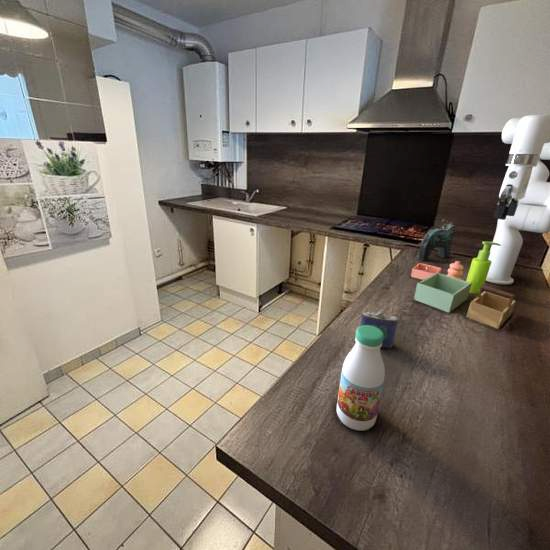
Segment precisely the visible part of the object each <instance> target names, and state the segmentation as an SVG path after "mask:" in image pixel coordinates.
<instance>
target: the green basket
mask: <svg viewBox="0 0 550 550" xmlns="http://www.w3.org/2000/svg"><path fill="white" fill-rule="evenodd" d="M471 285H472V283H471V282H467V281H466V280H463V279H462V280H460V279H457V278H454V277H450V276H447V274H444V273H436V274H434V275H432V276H430V277H428V278H426V279H424V280H422V279H421V281H419V282H417V283H416V287H415V292H414V296H413V300H414V301H416V302H420V303H422V304H425V305H428V306H430V307H432V308H435V309H438V310H440V311H443V312H446V313H448V314H449V313H451V312H452V311H453V310H455V309H456V308H457V307H459V306H460V305H462V304H463V303H464V302H465V301H466V300H468V297H469V294H470V293H469V291H470V288H471Z"/></svg>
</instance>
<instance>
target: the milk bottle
mask: <svg viewBox="0 0 550 550" xmlns="http://www.w3.org/2000/svg"><path fill="white" fill-rule="evenodd" d="M383 337H384V335H383V332H382V331H381V330H380V329H378V328H377V327H374V326H370V325H363V326H358V327H357V329H356V330H355V337H354V341H355V343H354V346H353V347H352V349H351V350H350V351H349V352H348V354H347V355H346V357H345V358H344V360H343V363H342V369H341V374H340V381H339V387H338V395H337V403H336V414H337V417H338V419H339V420H340V422H341V423H342V424H343V425H345V426H346V427H347V428H349V429H352V430H354V431H359V432H360V431H361V432H362V431H363V432H364V431H367V430H369V429H370V428H371V429H372V427H373V426H374V425H375V424H376V421H377V418H378V412H379V408H380V404H381V398H382V394H383V387H384V384H385V376H386V369H385V368H386V367H385V363H384V360H383V357H382V354H381V348H380V347H381V346H382V342H383Z"/></svg>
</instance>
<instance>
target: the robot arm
mask: <svg viewBox="0 0 550 550" xmlns="http://www.w3.org/2000/svg"><path fill="white" fill-rule="evenodd" d="M501 141H502V143H504V144H506V145H511V146H510V149H509V153H508V157H507V159H506V162H505V165H504V166H505V167H508V168H507V170H506V172H505V174H504V175H505V176H504V178H503V181H502V184H501V187H500V191H499V195H498V202H497V204H496V207H495V210H494V214H493V219H496V220H497V224H496V228H495V229H496V230H495V233H494V236H493V239H492V242H495V243H498V244H500V246H498V245H490V248H489V251H490V255H489V259H488V260H490V261H492V263H491V266H490V269H489V272H488V275H487V278H486V281H485V282H489V283H492V284H496V285H506V286H508V285H512V284H514V281H515V280H514V278H512V277H511V276H512V273H513V271H514V267H515V265H516V262H517V260H518V257H519V254H520V252H521V249H522V246H523V242H524V239H523V237H522V234H521V233H520V231H525V232H531V233H538V234H546V233H550V181H548V179H549V177H550V171H549V168H548V167H547V166H546V164H545V163H543V162H542V161H541V160H545V161H547V160H548V161H550V113H544V114H542V113H541V114H529V115H528V114H527V115H524V116H522V117H521V116H520V117H513V118H510V119H509V120H507V122H506V123H505V125H504V126H503V128H502V131H501Z"/></svg>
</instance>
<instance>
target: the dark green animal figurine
mask: <svg viewBox="0 0 550 550" xmlns="http://www.w3.org/2000/svg"><path fill="white" fill-rule="evenodd" d="M444 221H446V223H443V222H444ZM441 223H442V225H443V226H441V227H440V226H433V227H430V229H429V230H428V231H427V232H426V234H425V235H424V237H423V238H422V240H421V242H420V245H419V254H418V255H419V256H418V260H419V261H421V262H427V261H428V260H429V257H430V255H431V253H432V252H433V251H434V250H435V249H438V253H437V256H438V257H439V258H443V259H446V258H448V257H449V254H450V251H451V247H452V243H453V239H454V236H456V235H457V231H458V227H457V226H456V225H454V224H453V222H452V221H450V222H449V220H448V219H447V218H444V219H442V221H441Z"/></svg>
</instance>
